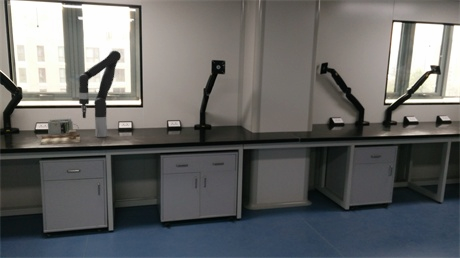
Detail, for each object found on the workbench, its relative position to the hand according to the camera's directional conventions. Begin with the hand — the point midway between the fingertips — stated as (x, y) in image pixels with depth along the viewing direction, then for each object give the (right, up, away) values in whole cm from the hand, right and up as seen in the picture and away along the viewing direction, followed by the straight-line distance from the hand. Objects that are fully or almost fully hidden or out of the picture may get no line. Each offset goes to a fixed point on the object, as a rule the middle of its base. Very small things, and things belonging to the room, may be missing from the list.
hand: (84, 117), depth 307 cm
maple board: (-13, -20, -15) cm, 28 cm away
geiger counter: (-24, -14, +15) cm, 31 cm away
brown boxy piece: (-5, -18, -12) cm, 22 cm away
